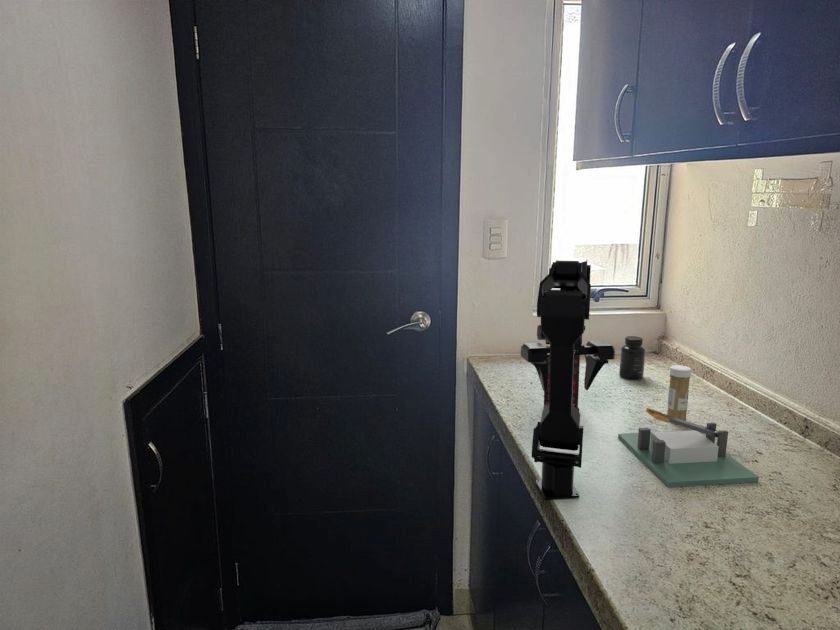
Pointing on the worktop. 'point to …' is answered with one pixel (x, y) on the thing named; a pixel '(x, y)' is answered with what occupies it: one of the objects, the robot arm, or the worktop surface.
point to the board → (691, 469)
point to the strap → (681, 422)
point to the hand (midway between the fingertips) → (565, 390)
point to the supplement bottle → (632, 358)
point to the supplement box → (575, 380)
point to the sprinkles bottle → (678, 391)
